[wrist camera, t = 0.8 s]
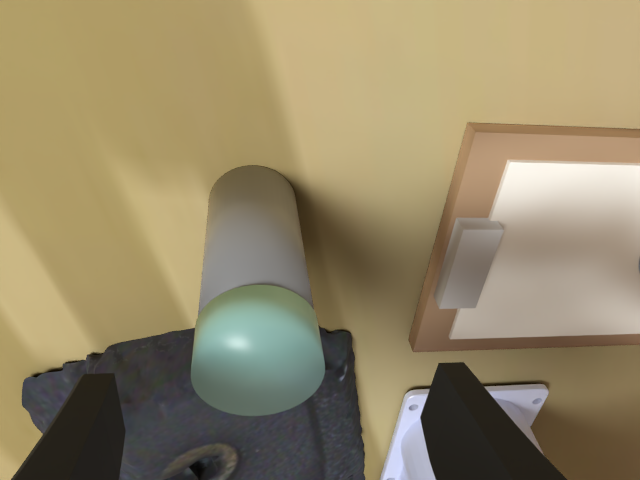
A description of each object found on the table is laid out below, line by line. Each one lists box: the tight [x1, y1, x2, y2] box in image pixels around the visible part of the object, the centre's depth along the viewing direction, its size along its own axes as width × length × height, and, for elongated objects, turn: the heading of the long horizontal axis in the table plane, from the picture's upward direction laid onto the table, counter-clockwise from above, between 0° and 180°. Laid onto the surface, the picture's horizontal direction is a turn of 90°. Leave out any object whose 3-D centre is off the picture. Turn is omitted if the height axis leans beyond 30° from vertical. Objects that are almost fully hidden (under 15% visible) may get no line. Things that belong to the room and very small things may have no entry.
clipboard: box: [409, 123, 640, 352], centre depth 22 cm, size 11×15×2 cm
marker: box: [191, 165, 325, 416], centre depth 16 cm, size 3×3×8 cm
